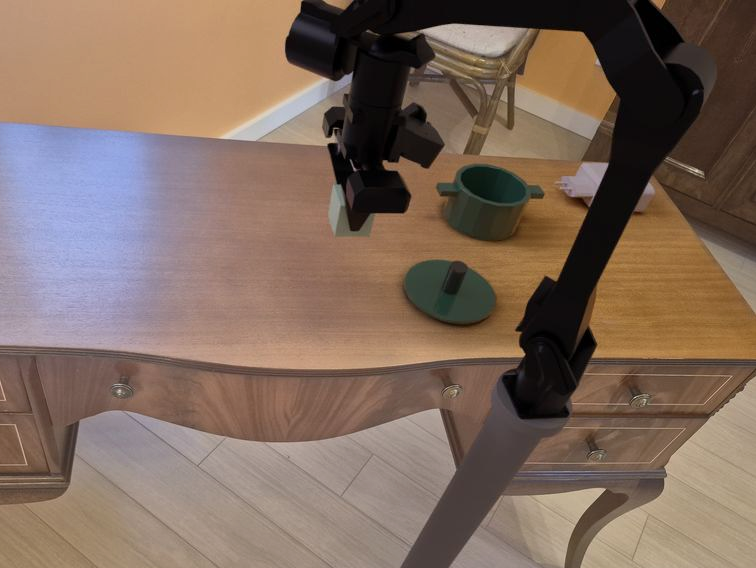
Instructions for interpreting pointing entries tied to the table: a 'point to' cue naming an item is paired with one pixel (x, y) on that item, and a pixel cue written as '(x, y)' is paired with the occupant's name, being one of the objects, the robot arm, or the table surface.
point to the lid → (449, 291)
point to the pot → (486, 201)
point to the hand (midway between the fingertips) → (350, 219)
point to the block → (345, 217)
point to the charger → (596, 184)
